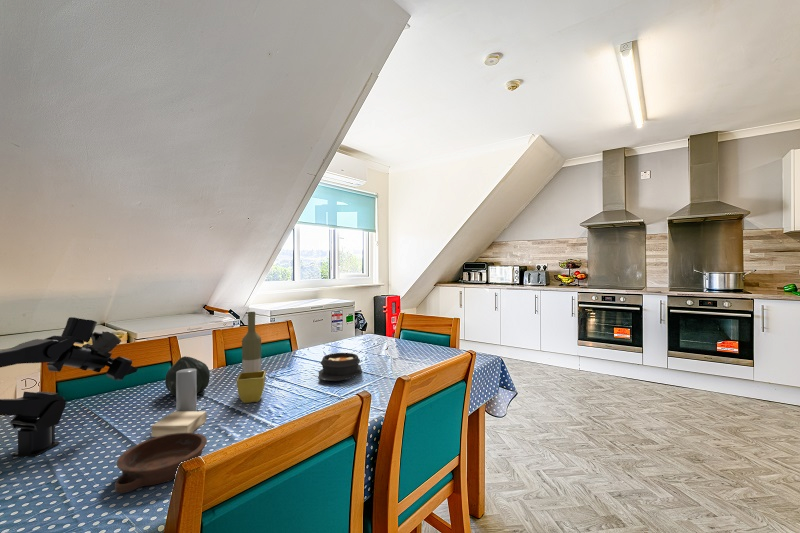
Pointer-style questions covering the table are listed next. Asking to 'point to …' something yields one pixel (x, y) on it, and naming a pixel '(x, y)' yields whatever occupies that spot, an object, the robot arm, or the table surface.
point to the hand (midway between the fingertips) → (126, 366)
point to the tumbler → (186, 390)
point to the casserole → (339, 367)
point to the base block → (179, 423)
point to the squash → (188, 363)
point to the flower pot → (251, 386)
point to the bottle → (251, 347)
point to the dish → (157, 459)
